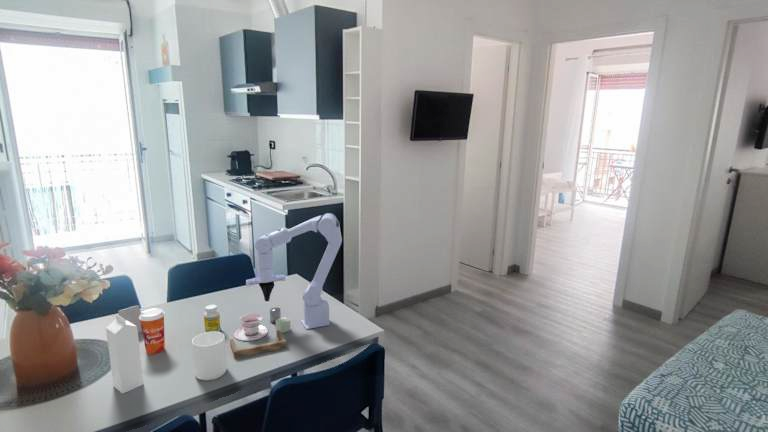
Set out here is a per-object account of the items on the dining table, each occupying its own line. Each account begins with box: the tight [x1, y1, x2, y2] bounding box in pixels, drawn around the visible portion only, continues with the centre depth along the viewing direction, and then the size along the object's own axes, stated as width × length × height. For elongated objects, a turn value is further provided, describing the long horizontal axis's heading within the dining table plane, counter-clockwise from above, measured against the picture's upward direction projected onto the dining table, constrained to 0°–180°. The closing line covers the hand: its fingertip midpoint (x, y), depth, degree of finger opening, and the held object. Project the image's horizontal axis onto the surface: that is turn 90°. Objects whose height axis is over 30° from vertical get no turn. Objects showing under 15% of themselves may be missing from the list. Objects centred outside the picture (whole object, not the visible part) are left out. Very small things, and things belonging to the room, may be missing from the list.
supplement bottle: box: [203, 304, 221, 332], centre depth 161 cm, size 5×5×10 cm
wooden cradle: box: [229, 329, 287, 359], centre depth 151 cm, size 17×9×2 cm, turn 117°
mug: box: [191, 331, 228, 382], centre depth 135 cm, size 10×12×12 cm
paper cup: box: [139, 307, 166, 355], centre depth 146 cm, size 8×8×14 cm
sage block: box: [275, 316, 291, 334], centre depth 164 cm, size 4×4×4 cm
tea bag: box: [117, 304, 143, 334], centre depth 158 cm, size 4×7×10 cm, turn 140°
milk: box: [105, 313, 144, 395], centre depth 126 cm, size 6×6×22 cm
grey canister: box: [269, 307, 282, 325], centre depth 170 cm, size 4×4×5 cm
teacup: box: [233, 313, 269, 342], centre depth 160 cm, size 12×12×6 cm
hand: (266, 300), depth 168 cm, fingers closed
